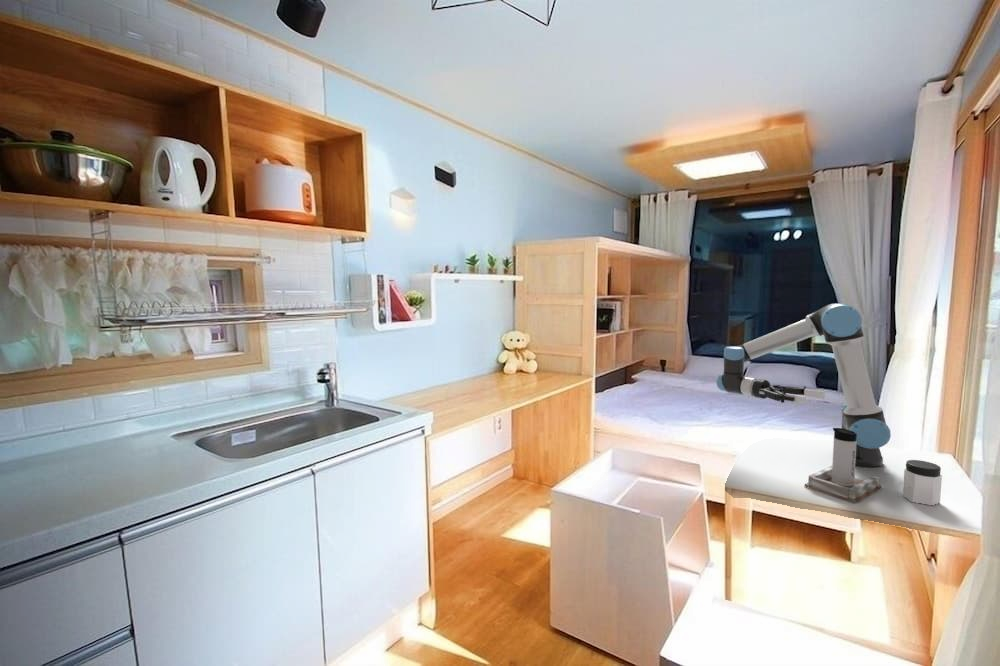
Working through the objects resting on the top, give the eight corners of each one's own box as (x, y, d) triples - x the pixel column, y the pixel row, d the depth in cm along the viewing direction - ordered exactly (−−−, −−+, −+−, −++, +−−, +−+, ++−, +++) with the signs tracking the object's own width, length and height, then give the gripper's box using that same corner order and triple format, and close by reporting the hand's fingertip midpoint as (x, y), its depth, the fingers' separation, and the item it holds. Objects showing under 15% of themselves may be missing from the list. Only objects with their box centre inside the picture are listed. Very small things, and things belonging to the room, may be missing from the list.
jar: (896, 493, 151) (898, 458, 150) (923, 494, 150) (926, 459, 149) (917, 505, 142) (920, 469, 141) (946, 506, 141) (949, 470, 140)
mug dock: (832, 474, 167) (832, 463, 167) (881, 488, 154) (882, 477, 154) (804, 486, 157) (805, 475, 157) (855, 503, 144) (855, 491, 144)
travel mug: (828, 480, 160) (830, 425, 158) (850, 482, 157) (853, 427, 156) (833, 487, 154) (836, 431, 152) (856, 490, 152) (860, 433, 150)
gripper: (772, 392, 187) (830, 403, 169) (737, 401, 174) (796, 413, 156) (773, 375, 186) (831, 383, 168) (738, 382, 173) (797, 392, 155)
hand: (815, 397), depth 162 cm, fingers open, 13 cm apart
